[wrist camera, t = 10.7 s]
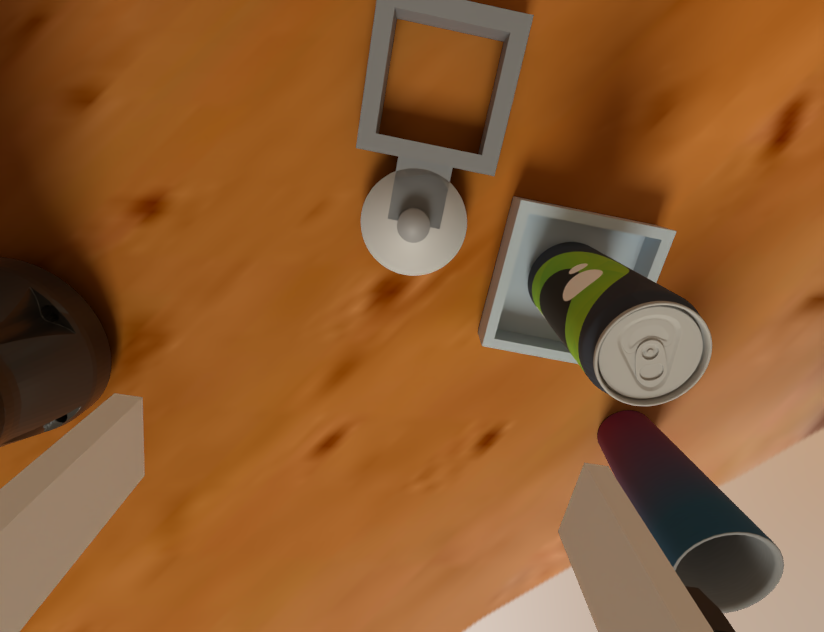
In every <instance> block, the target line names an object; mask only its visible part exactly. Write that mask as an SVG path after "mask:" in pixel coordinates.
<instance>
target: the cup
mask: <svg viewBox="0 0 824 632" xmlns="http://www.w3.org/2000/svg"><path fill="white" fill-rule="evenodd" d="M598 443H599V445H600V447H601V449H602V451H603V453H604V455H605V457H606V459H607V461H608V463H609V465H610V467H611V469H612V471H613V473H614V475H615V477H616V479H617V481H618V482H619V484H620V486H621V487H622V489H623V490H624V492H625V493H626V495H627V497H628V498H629V500H630V501H631V503H632V504H633V506H634V507H635V509H636V511H637V512H638V514H639V515H640V517H641V518H642V520H643V522H644V523H645V525H646V526H647V528H648V529H649V531H650V533H651V534H652V536H653V537H654V539H655V540H656V542H657V543H658V545H659V547H660V548H661V550H662V551H663V553H664V554H665V556H666V558H667V559H668V561H669V562H670V564H671V565H672V567H673V568H674V570H675V572H676V573H677V575H678V576H679V578H680V579H681V581H682V583H683V584H684V586H688V587H696V588H699V589H700V590H701V591H702V592H703V593H704V594H705V595H706V596H707V597H708V598H709V599H710V600H711V601H712V602H713V603H714V604H715V605H716V606H717V607H718V608H719V609H720V610H721V611H722V613H729V612H734V611H738V610H741V609H744V608H747V607H749V606H751V605H753V604H755V603H757V602H759V601H760V600H762V599H763V598H764V597H766V596H767V595H768V594H769V593H770V592H771V591H772V590H773V589H774V588H775V586H776V585H777V584H778V582H779V580H780V578H781V576H782V573H783V568H784V562H783V556H782V554H781V552H780V550H779V549H778V547H777V546H776V545H775V544H774V543H773V542H772V541H771V540H770V539H769V538H768V537H767V536H766V535H765V534H764V533H763V532H762V531H761V530H760V529H759V528H758V527H757V526H756V525H755V524H754V523H753V522H752V521H751V520H750V519H749V518H748V517H747V516H746V515H745V514H744V513H743V512H742V511H741V510H740V509H739V508H738V507H737V506H736V505H735V504H734V503H733V502H732V501H731V500H730V499H729V498H728V497H727V496H726V495H725V494H724V493H723V492H722V491H721V490H720V489H719V488H718V487H717V486H716V485H715V484H714V483H713V482H712V481H711V480H710V479H709V478H708V477H707V476H706V475H705V474H704V473H703V472H702V471H701V470H700V469H699V468H698V467H697V466H696V465H695V464H694V463H693V462H692V461H691V460H690V459H689V458H688V457H687V456H686V455H685V454H684V453H683V452H682V451H681V450H680V449H679V448H678V447H677V446H676V445H675V444H674V443H673V442H672V441H671V440H670V439H669V438H668V437H667V436H666V435H665V434H664V433H662V432H661V431H660V430H659V429H658V428H657V427H656V426H655V425H654V424H653V423H652V422H651V421H650V420H649V419H648V418H647V417H646V416H645V415H644V414H642V413H640V412H637V411H631V410H626V411H620V412H617V413H614V414H612V415H611V416H609V417H608V418H607V419H605V420H604V421H603V423H602V424H601V426H600V428H599V430H598Z"/></svg>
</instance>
